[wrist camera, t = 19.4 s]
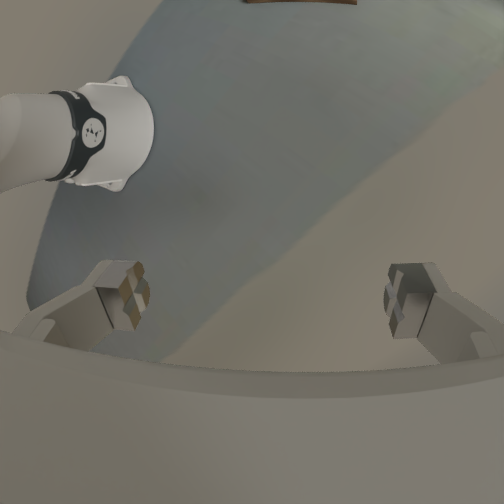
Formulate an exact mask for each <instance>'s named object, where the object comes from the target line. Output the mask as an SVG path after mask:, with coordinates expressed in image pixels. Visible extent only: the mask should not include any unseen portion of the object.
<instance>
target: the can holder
mask: <svg viewBox="0 0 504 504" xmlns="http://www.w3.org/2000/svg"><path fill="white" fill-rule="evenodd" d="M246 1H247V2H248V3H263V2H327V3H342V4H354V5H357V0H246Z"/></svg>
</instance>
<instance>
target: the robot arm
mask: <svg viewBox="0 0 504 504" xmlns="http://www.w3.org/2000/svg"><path fill="white" fill-rule="evenodd" d="M153 135H154V122H153V116H152V112H151V109H150V106H149V104H148V103H147V101H146V100H145V98H144V97H143V96H142V95H141V94H140V93H138V92H137V91H136V90H135V89H134V88H133V86H132V84H131V81H130V79H129V78H128V77H127V76H118V77H116V78H114V79H112V80H109V81H107V82H105V83H86V85H85V86H83V87H80V88H79V89H77V90H76V91H69V90H60V91H52V92H50V93H48V94H36V93H35V94H33V93H19V94H18V93H16V94H15V93H14V94H8V95H5V96H2V97H1V98H0V194H1V193H3V192H5V191H7V190H9V189H12V188H15V187H18V186H21V185H25V184H28V183H32V182H36V181H40V180H46V181H62V180H65V182H67V183H75V185H82V186H88V185H99V186H101V187H104V188H106V189H109V190H111V191H114V192H115V191H121V190H122V189H123V187H124V185H125V184H126V182H127V179H128V178H129V177H130V176H131V175H132V174H133V173H134V172H136V171H137V170H138V169H139V168H140V167H141V166H142V164H143V163H144V161H145V160H146V158H147V156H148V154H149V151H150V149H151V145H152V141H153ZM111 182H112V183H111ZM144 273H145V271H144V268H143V265H142V263H141V262H139V261H123V260H102V261H100V262H99V263H98V264H97V266H96V267H95V268H94V269H93V271H92V272H91V273H90V274H89V276H88V277H87V278H86V279H85V281H84V282H83V283H82V284H81V286H76V287H74V288H72V289H70V290H68V291H66V292H65V293H63V294H61V295H59V296H57V297H56V298H54V299H52V300H50V301H48V302H47V303H45V304H43V305H41V306H40V307H38V308H36V309H34V310H32V311H31V312H29V313H27V314H26V315H25V317H24V318H23V319H22V321H21V322H20V323H19V325H18V326H17V327H16V328H15V330H14V331H13V333H9V332H6V331H2V330H0V504H504V324H503V323H501V322H500V321H499V320H497V319H495V318H494V317H493V316H491V315H490V314H488V313H487V312H486V311H484V310H482V309H481V308H479V307H478V306H477V305H475V304H474V303H472V302H470V301H469V300H467V299H466V298H464V297H463V296H461V295H460V294H458V293H457V292H452V291H451V289H450V288H449V286H448V284H447V282H446V281H445V279H444V277H443V276H442V274H441V272H440V270H439V269H438V267H437V266H436V264H435V263H433V262H428V263H407V264H406V263H405V264H391V266H390V268H389V273H388V276H389V279H390V282H389V283H388V284H387V285H386V286H385V291H384V309H385V313H386V315H388V316H389V317H390V322H389V326H390V329H391V333H392V336H393V339H403V338H417V339H418V341H419V342H420V343H421V344H423V346H424V347H425V348H426V349H427V350H428V351H429V352H430V353H431V354H432V355H433V356H434V357H435V358H436V359H437V360H438V361H439V362H440V363H441V364H437V365H429V366H420V367H410V368H400V369H387V370H371V371H347V372H271V371H244V370H229V369H215V368H202V367H192V366H181V365H173V364H165V363H157V362H149V361H142V360H135V359H129V358H122V357H116V356H110V355H105V354H99V353H94V352H89V350H91V349H92V348H93V347H94V346H95V345H97V344H98V343H99V342H100V341H101V340H103V339H104V338H105V337H106V336H107V335H109V334H110V333H111V332H112V331H114V330H113V329H116V330H127V331H135V330H136V328H137V326H138V324H139V322H140V320H141V318H142V317H141V315H140V313H141V312H142V311H144V310H145V309H146V308H147V306H148V304H149V300H150V288H149V284H148V282H147V281H146V280H145V279H144V278H143V275H144Z"/></svg>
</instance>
